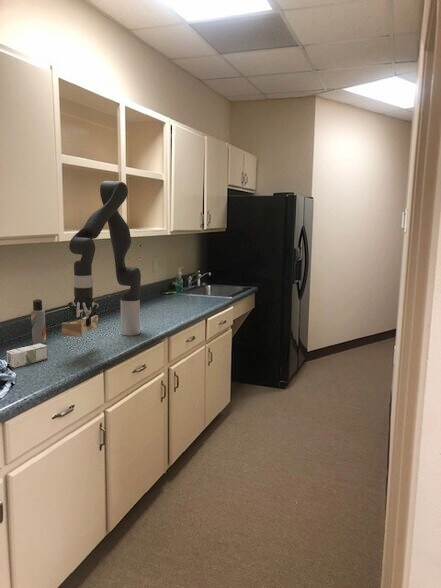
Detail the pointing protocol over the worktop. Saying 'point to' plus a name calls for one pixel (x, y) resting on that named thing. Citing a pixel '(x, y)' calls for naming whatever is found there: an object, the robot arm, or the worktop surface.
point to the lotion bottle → (38, 323)
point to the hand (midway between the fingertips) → (84, 325)
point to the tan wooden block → (78, 327)
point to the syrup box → (27, 355)
